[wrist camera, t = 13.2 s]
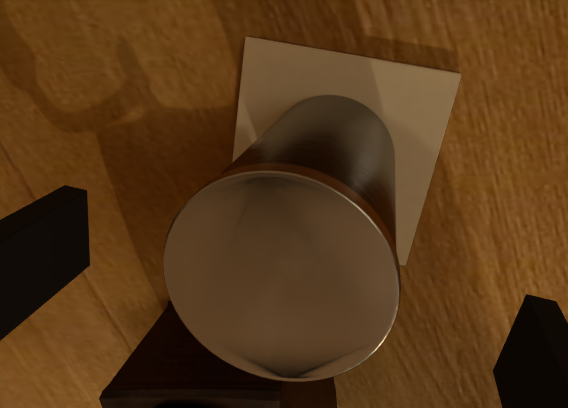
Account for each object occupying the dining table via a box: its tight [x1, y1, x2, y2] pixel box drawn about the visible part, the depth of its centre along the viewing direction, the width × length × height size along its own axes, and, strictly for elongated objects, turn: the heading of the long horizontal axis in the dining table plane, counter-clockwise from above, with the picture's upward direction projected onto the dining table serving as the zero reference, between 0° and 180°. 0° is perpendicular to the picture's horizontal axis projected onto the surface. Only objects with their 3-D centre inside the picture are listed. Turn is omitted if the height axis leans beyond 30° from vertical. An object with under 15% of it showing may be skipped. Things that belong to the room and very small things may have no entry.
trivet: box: [232, 36, 462, 266], centre depth 26 cm, size 11×11×1 cm
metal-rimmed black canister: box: [163, 95, 401, 382], centre depth 20 cm, size 7×7×13 cm
